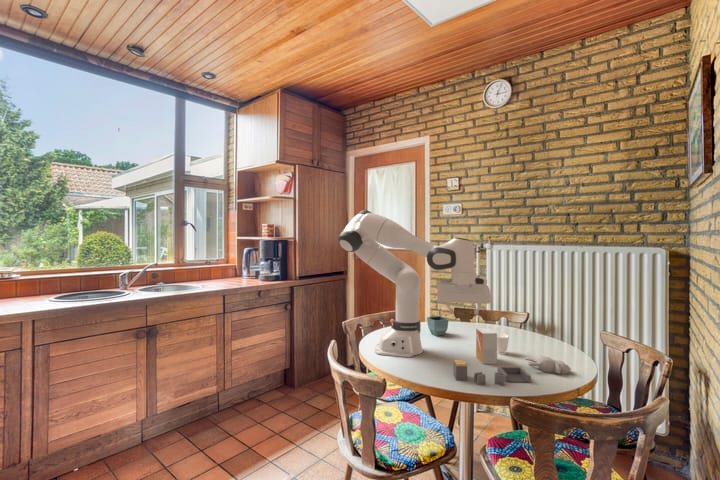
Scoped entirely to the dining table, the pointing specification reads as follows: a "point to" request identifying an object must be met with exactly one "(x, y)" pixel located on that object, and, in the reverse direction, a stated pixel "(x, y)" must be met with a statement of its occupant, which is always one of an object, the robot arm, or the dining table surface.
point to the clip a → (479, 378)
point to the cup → (502, 343)
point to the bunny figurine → (549, 365)
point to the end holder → (514, 374)
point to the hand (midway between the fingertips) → (463, 314)
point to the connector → (460, 370)
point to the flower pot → (437, 325)
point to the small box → (486, 345)
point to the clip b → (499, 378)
